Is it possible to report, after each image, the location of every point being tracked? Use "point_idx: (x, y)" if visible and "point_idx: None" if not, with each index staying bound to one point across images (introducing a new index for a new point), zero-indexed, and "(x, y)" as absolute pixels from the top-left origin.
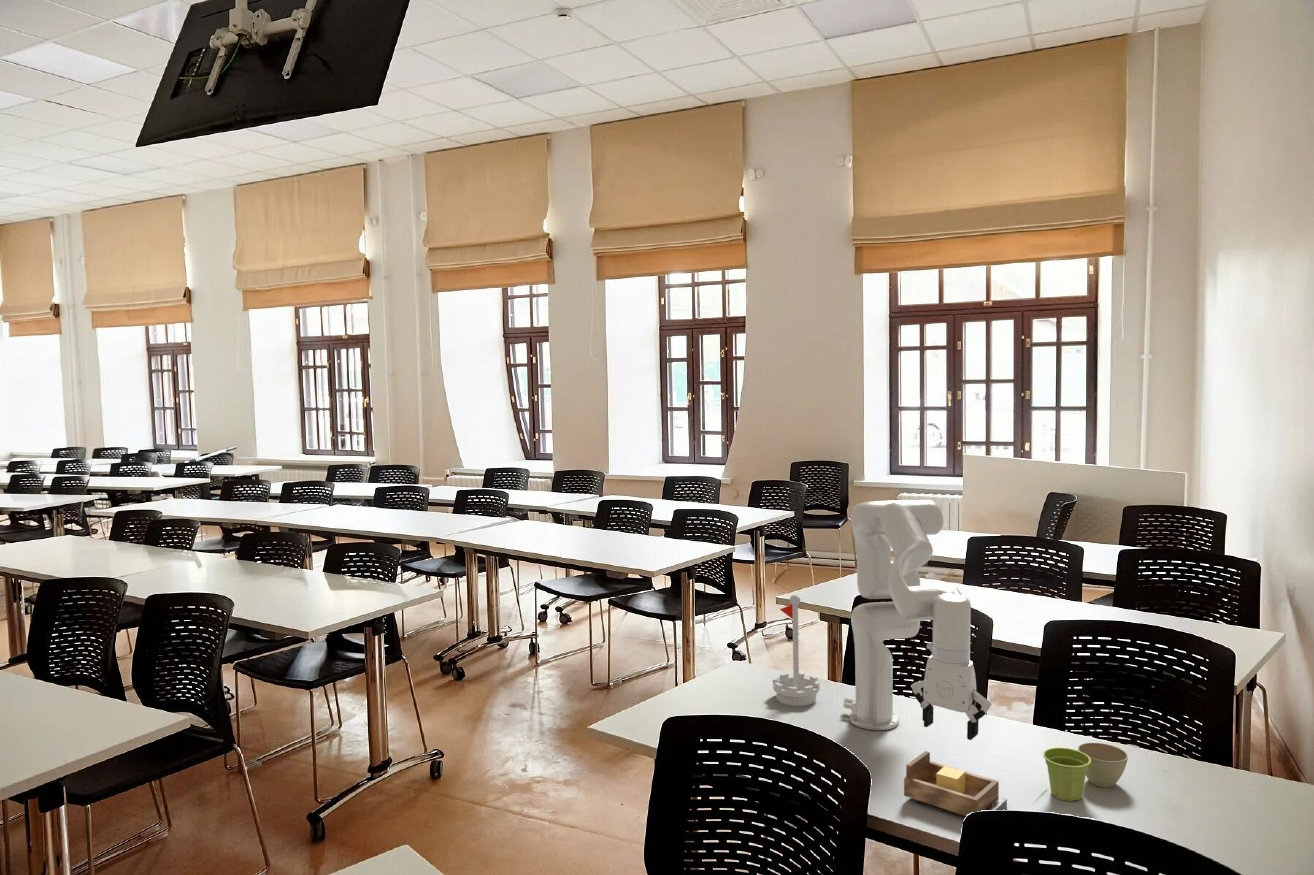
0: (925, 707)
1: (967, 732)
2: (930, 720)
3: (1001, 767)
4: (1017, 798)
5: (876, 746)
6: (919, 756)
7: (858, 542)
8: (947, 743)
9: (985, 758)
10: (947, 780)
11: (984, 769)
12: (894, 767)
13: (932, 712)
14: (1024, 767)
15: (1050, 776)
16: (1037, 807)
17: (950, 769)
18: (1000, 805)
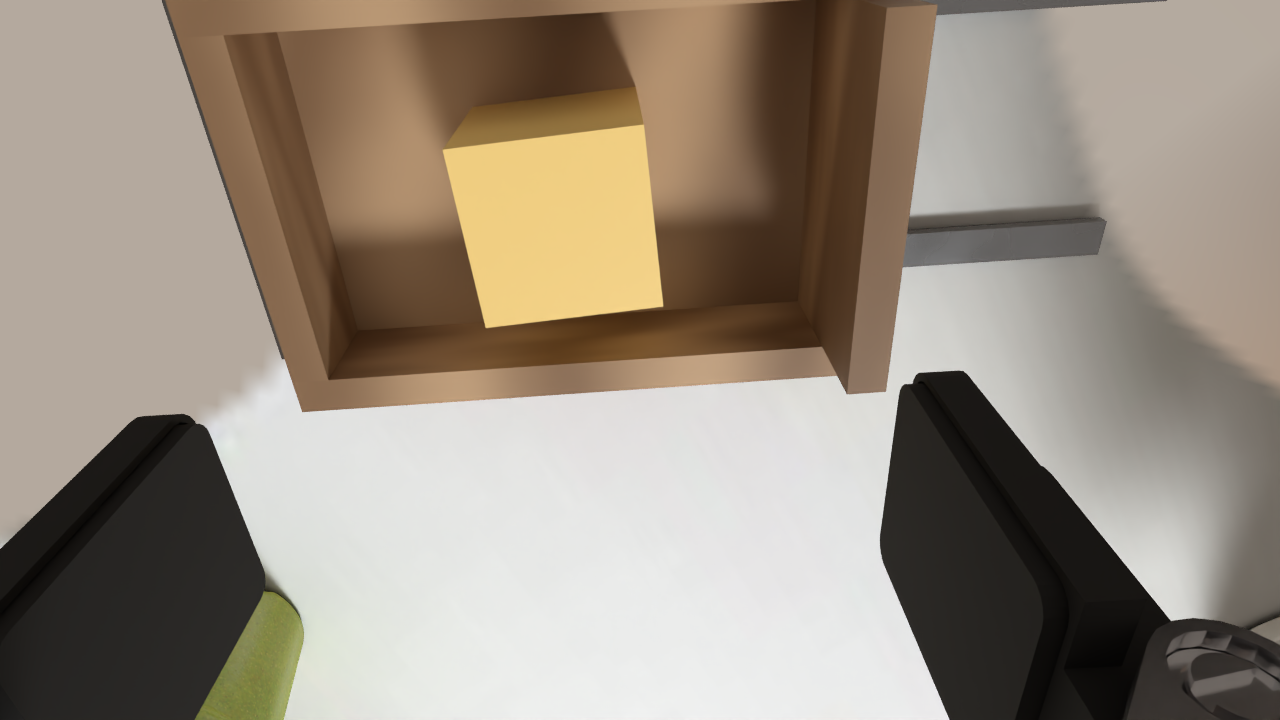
0: (1140, 672)
1: (128, 487)
2: (913, 527)
3: (597, 662)
4: (359, 469)
5: (1223, 496)
6: (891, 267)
7: None
8: (901, 701)
9: (696, 686)
10: (537, 127)
11: (647, 608)
12: (1060, 356)
13: (948, 678)
14: (523, 712)
15: (228, 663)
16: (229, 452)
17: (592, 281)
18: (251, 261)
